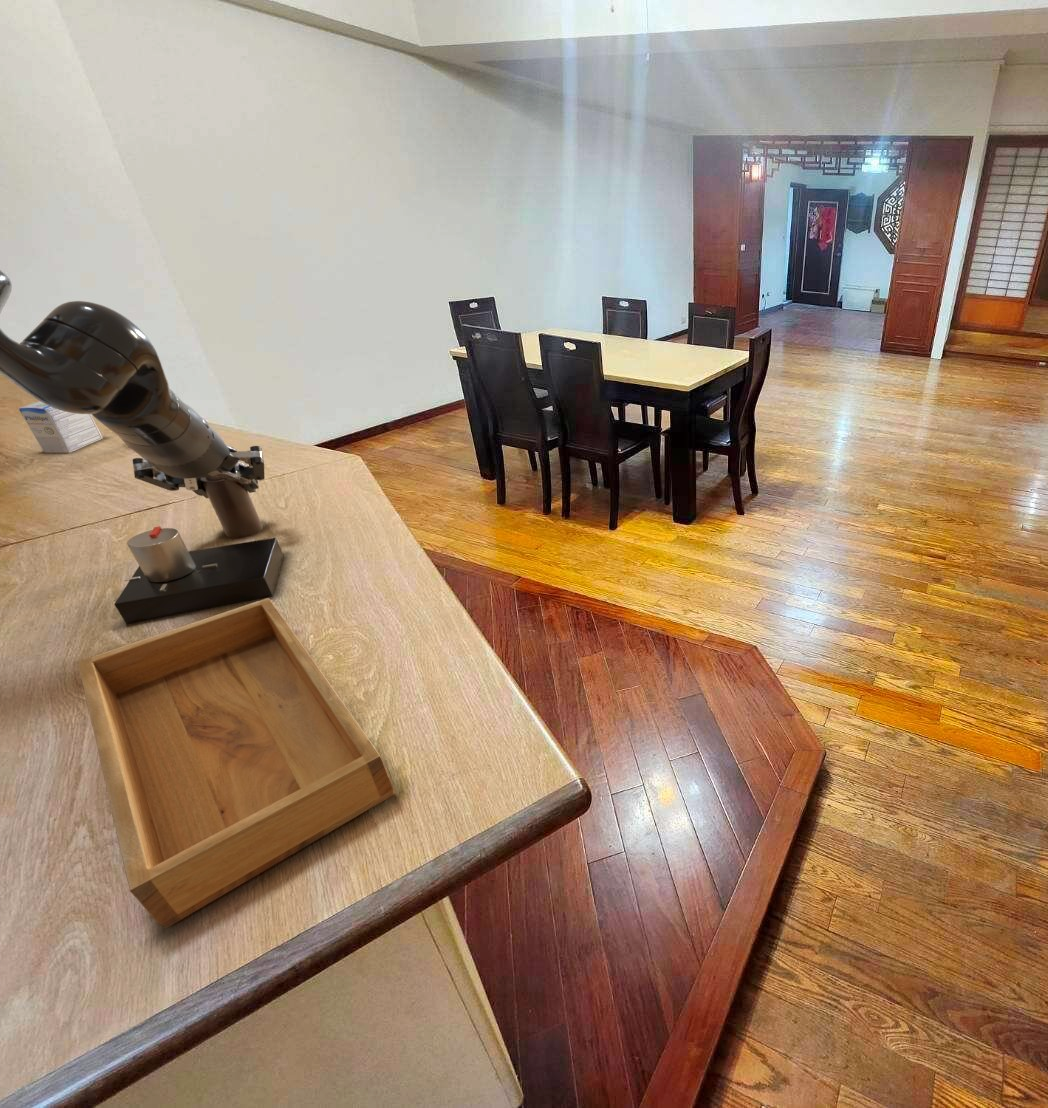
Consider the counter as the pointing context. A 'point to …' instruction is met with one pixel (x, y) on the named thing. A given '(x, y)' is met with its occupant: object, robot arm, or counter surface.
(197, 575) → the stove panel
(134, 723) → the tray
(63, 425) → the medicine box
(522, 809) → the counter surface
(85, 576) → the counter surface
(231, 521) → the pepper mill
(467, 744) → the counter surface
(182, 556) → the stove knob
